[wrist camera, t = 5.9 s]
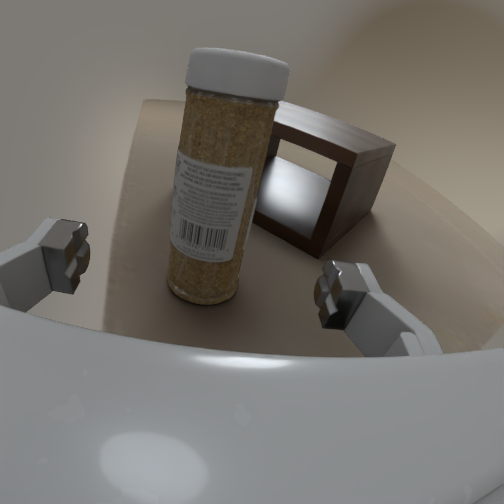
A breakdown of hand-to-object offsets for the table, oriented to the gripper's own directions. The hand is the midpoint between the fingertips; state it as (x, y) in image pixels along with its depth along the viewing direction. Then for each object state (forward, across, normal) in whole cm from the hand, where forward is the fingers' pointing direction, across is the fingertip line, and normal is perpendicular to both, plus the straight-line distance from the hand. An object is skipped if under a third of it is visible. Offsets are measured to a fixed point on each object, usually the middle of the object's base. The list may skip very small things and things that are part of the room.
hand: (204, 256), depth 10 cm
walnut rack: (+22, -8, +7) cm, 25 cm away
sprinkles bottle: (+6, 0, +7) cm, 10 cm away
